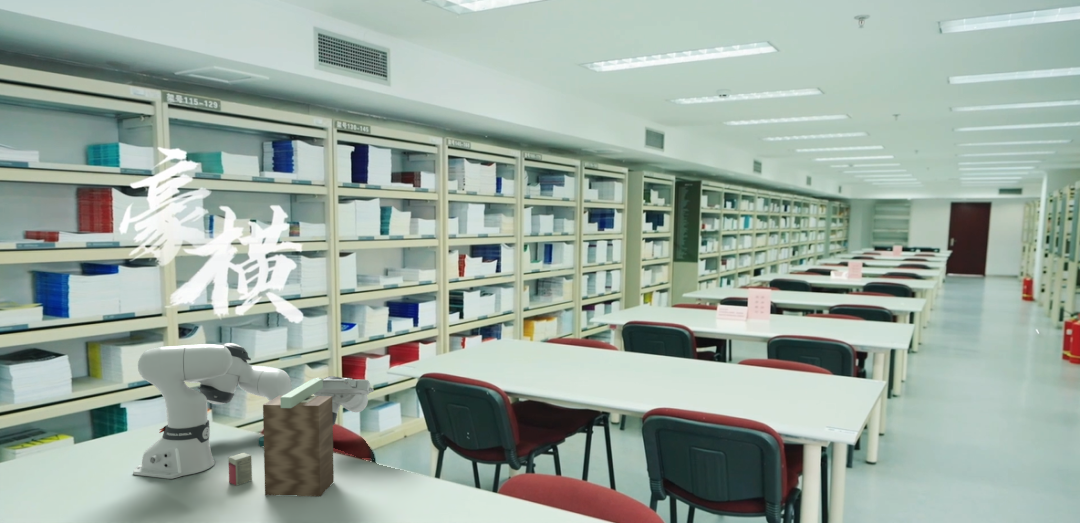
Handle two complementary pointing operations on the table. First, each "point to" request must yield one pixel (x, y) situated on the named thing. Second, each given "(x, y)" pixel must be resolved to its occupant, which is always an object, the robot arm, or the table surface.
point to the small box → (240, 468)
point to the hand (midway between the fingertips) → (332, 380)
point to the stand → (298, 447)
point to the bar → (301, 393)
